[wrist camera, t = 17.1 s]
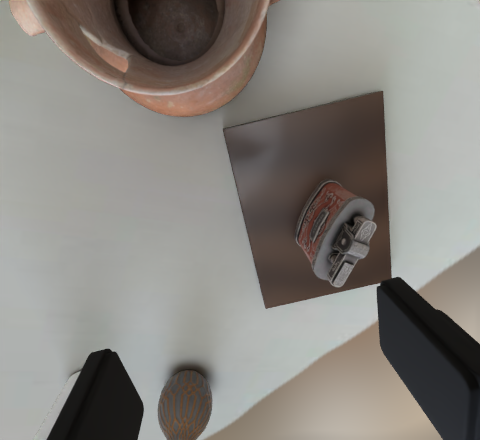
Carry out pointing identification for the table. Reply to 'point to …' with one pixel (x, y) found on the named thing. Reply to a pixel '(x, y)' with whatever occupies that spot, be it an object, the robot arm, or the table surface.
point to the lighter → (335, 231)
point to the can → (56, 409)
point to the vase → (185, 406)
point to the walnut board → (310, 189)
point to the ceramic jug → (157, 46)
